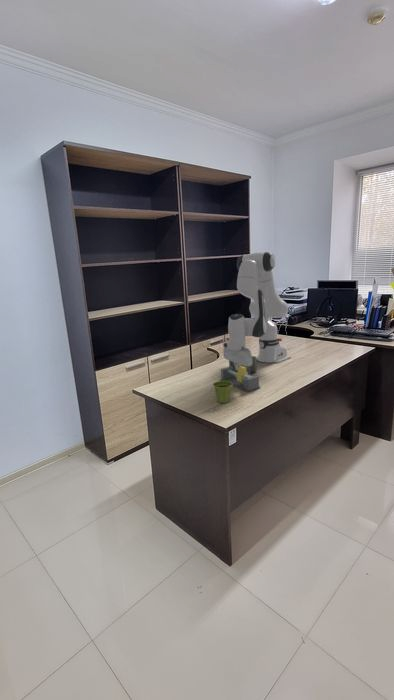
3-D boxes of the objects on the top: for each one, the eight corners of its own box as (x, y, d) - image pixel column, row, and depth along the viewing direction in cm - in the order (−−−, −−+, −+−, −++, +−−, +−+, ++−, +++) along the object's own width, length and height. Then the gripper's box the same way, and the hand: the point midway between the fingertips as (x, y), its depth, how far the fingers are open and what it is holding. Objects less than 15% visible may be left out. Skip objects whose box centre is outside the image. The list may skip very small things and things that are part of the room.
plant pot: (222, 406, 161) (221, 389, 158) (209, 400, 168) (208, 384, 166) (237, 401, 166) (236, 384, 164) (224, 395, 173) (223, 379, 171)
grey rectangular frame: (219, 380, 194) (219, 369, 192) (232, 376, 199) (232, 365, 197) (247, 392, 175) (246, 380, 174) (260, 387, 180) (260, 376, 178)
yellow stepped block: (236, 380, 185) (236, 367, 183) (243, 378, 187) (242, 365, 185) (241, 382, 181) (241, 369, 179) (248, 380, 184) (247, 367, 182)
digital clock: (258, 371, 205) (257, 354, 202) (253, 376, 197) (253, 358, 194) (232, 369, 212) (231, 352, 209) (227, 374, 204) (226, 356, 201)
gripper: (255, 348, 175) (255, 373, 179) (230, 340, 192) (230, 364, 195) (245, 350, 172) (246, 376, 176) (220, 343, 189) (221, 367, 192)
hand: (237, 370), depth 186 cm, fingers closed
